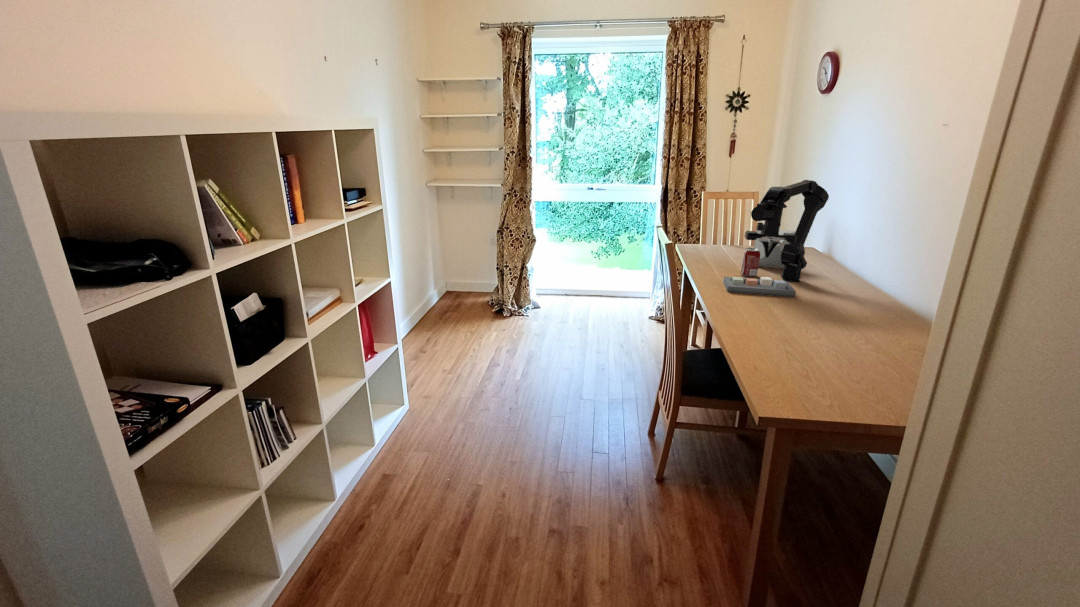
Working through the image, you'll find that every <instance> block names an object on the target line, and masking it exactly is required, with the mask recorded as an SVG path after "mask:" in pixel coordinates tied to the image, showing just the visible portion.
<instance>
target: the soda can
mask: <svg viewBox="0 0 1080 607" xmlns="http://www.w3.org/2000/svg"><path fill="white" fill-rule="evenodd" d="M759 251H760V250H759V249H757V248H754V247H747V248H745V250H744V251H743V256H742V262H741V263H742V264H741V269H740V274H741V275H742V276H743V277H745V278H754V277H756V276H758V271H759V267H758V266H759V260H760V252H759Z"/></svg>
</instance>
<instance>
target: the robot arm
mask: <svg viewBox="0 0 1080 607" xmlns="http://www.w3.org/2000/svg"><path fill="white" fill-rule="evenodd" d="M800 194H801V195H802V197H803V198H804V199H803V202H802V203H803V207H804V210H803V211H802V215H801V217H800V220H799V223H798V224H797V227H796V230H795V234H793V233H784V234H783V235H779V230H781V229H780V228H781V225H782V223H781V222H782V217H783V211H784V209H786V208H787V207H788V206H787V205H786V202H788V201H790V200H791V198H792V197H794V196H798V195H800ZM829 196H830V195H829V193H828V191H827V190H826V189H825V188H824V187H822V186H820V185H819V184H818V183H817V181H815V180H809V179H804V180H802V181H800V182H796V183H792V184H790V185H786V186H771V187H770V188H769V189H768V190H767V191H766V193H765V195H764V196H763V198H762V199H761V200H760V203H757V205H756V206H755V207H754V208H753V209H752V210H751V212H750V216H751V219H752V220H753V221H754V222H757V224H756V229H757V231H761V234H758V233H757V232H756V230H746V231H745V232H744V238H745V239H746V240H747V241H755V240H756V239H757V238H760V239H759V241H760V242H761V243H763V246H764V251H765V257H766V258H768V257H769V255H770V254H771V252H772V251H773V249H774V248H775V247H776V246H777V244H780V240H786V241H787V242H790V243H789V244H785V245H784V248H783V250H782V252H781V264H784V265H785V266H784V268H783V269H781V276H780V277H781V279H782V281H787V282H797V283H801V274H802V270H804V269H805V268H807V264H808V262H807V261H806V258H805V254H806V251H805V242H806V240H807V238H808V235H809V233H810V231H811V228H812V226H813V223H814V221H815V219H816V216H817V214H818V212H819V211H821V210H822V209H823V208H824V207H825V206H826V204H827V202H828V200H829V198H830V197H829ZM763 222H764V223H763ZM767 236H768V237H767ZM768 239H770V244H769V242H768Z"/></svg>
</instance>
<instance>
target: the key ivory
mask: <svg viewBox="0 0 1080 607" xmlns="http://www.w3.org/2000/svg"><path fill="white" fill-rule="evenodd" d="M759 279H760V284H761V285H762V286H772V281H773V280H774V279H772V277H770V276H760V277H759Z"/></svg>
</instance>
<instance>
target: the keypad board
mask: <svg viewBox="0 0 1080 607" xmlns="http://www.w3.org/2000/svg"><path fill="white" fill-rule="evenodd" d="M732 277H733V276H723V282H722V283H723V285H724V287H725V289H726V292H727V293H734V294H735V293H736V294H747V295H756V294H759V296H769V295H773V296H772V297H781V296H783V297H785V298H795V297H796V293H797V291H796V290H795V289H794V288H793V286H792V285H791V283H790V282H789V281H785V282H786V283H787V284H786V289H780V288H774V286H773V285H774V280H775V279H772V280H773V281H772V286H762V285H761V284H760V278H756V279H757V281H758V283H757V287H754V286H746V284H745V283H746V278H747V277H742V278H743V280H744V282H743V286H740V285H733V284H732Z"/></svg>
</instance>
